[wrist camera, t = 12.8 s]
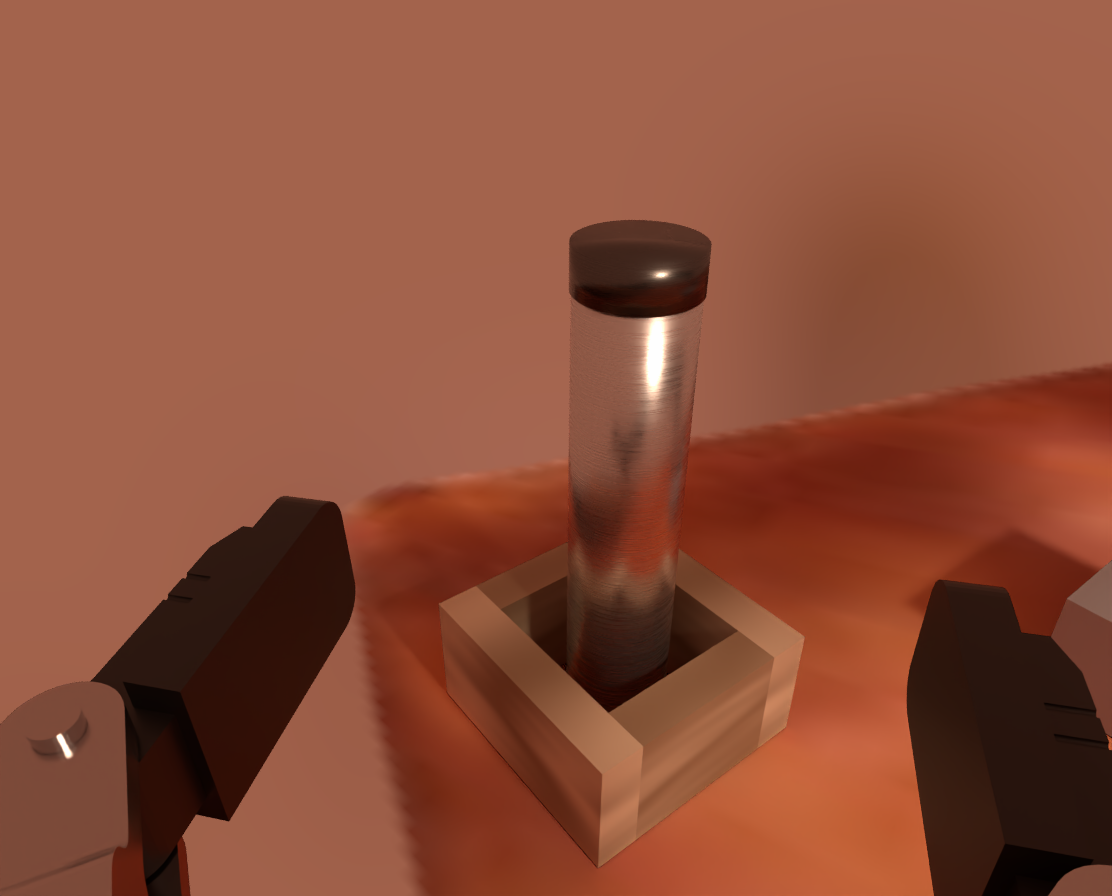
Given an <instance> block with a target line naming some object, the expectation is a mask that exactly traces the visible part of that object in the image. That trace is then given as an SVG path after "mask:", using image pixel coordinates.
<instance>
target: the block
mask: <svg viewBox="0 0 1112 896" xmlns="http://www.w3.org/2000/svg"><path fill="white" fill-rule="evenodd" d="M1051 638H1052V639H1053V640H1054V641H1055V642H1056V643H1057V644H1058V645H1059V647H1060V648H1061V649H1062V650H1063V651H1064V652H1065V653H1066V654H1067V656H1068V657H1069V658H1070V659H1071V660H1072V661H1073V662H1074V663H1075V664H1076V666H1077V667H1078V668H1079V669H1080V670H1081V671H1082V673H1083V675H1084V678H1085V681H1086V683H1087V686H1088V688H1089V691H1090V694H1091V696H1092V699H1093V702H1094V704H1095V707H1096V709H1097V711H1096V717H1097V718H1100V720H1101V722H1102V725H1103V728H1104V730H1105V733H1106V734H1107V735H1109V736H1111V737H1112V560H1111V561H1110V562H1109V563H1108V564H1107V565H1105V566H1104V567H1103V568H1102V569H1101V570H1100V571H1098V572H1097V573H1096V574H1095V575H1094V576H1093V577H1091V578H1090V579H1089V580H1088V581H1087V582H1086V583H1084V584H1083V585H1082V586H1081V587H1080V588H1079V589H1077V590H1076V591H1075V592H1074V593H1073V594H1072V595H1070V596H1069V597H1068V598H1067V599H1066V602H1065V604H1064V607H1063V609H1062V611H1061V614H1060V616H1059V619H1058V621H1057V623H1056V626H1055V628H1054V631H1053V633H1052V635H1051Z"/></svg>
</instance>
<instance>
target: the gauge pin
mask: <svg viewBox="0 0 1112 896" xmlns="http://www.w3.org/2000/svg"><path fill="white" fill-rule="evenodd" d="M569 247H570V248H569V293H570V295H571V329H570V330H571V331H570V332H571V333H570V410H569V411H570V412H569V413H570V414H569V416H570V417H569V490H568V570H567V650H566V673H567V674H568V675H569V676H570V677H571V678H572V679H573V680H574V681H575V682H577V683H578V684H579V685H580V686H581V687H582V688H583V689H584V690H585V691H586V692H587V693H588V694H589V695H590V696H591V697H592V698H593V699H594V700H595V701H596V702H597V703H598V704H599V705H600V706H602V707H603V708H604V709H605V710H606V711H607V712H608V713H609V712H611V711H612V710H614V709H616V708H617V707H619V706H620V705H622V704H623V703H625V702H627V701H628V700H630V699H631V698H633V697H634V696H636V695H638V694H639V693H641V692H642V691H644V690H646V689H647V688H649V687H650V686H652V685H653V684H655V683H657V682H658V681H660V680H661V679H663V678H665V677H666V673H667V663H668V653H669V643H670V633H671V623H672V613H673V603H674V593H675V583H676V573H677V563H678V553H679V543H680V533H681V523H682V513H683V503H684V493H685V483H686V473H687V463H688V453H689V443H690V433H691V423H692V412H693V403H694V393H695V383H696V373H697V363H698V353H699V343H700V333H701V323H702V313H703V302H704V300H705V298H706V294H707V284H708V274H709V264H710V254H711V241H710V240H709V238H708V237H706V236H705V235H704V234H702V233H700V232H698V231H696V230H694V229H691V228H688V227H685V226H681V225H677V224H672V223H666V222H659V221H647V220H646V221H645V220H621V221H610V222H603V223H598V224H594V225H590V226H587V227H584V228H582V229H580V230H578V231H576V232H575V233H573V235H572V236H571V237H570V243H569Z"/></svg>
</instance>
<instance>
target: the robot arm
mask: <svg viewBox="0 0 1112 896" xmlns="http://www.w3.org/2000/svg"><path fill="white" fill-rule="evenodd" d="M354 601H355V581H354V576H353V571H352V565H351V560H350V555H349V550H348V545H347V540H346V535H345V530H344V525H343V520H342V515H341V511H340V509H339V507H338V506H337V504H335V503H334V502H330V501H320V500H313V499H305V498H297V497H289V496H283V497H280V498H279V499H277V500H276V501H275V502H274V503H273V504H272V505H271V507H270V508H269V509H268V510H267V511H266V513H265V514H264V515H263V516H262V517H261V519H260V520H259V521H258V522H257V523H256V524H255V526H254V527H253V528H252V527H244V526H243V527H241V528H240V529H238V530H237V531H235V532H233V533H232V534H230V535H228V536H227V537H225V538H224V539H222V540H220V541H219V542H217V543H216V544H214V545H212V546H211V547H210V548H209V549H208V550H207V551H206V552H205V553H204V554H203V555H202V557H201V558H200V559H199V560H198V561H197V562H196V563H195V564H194V566H193V567H192V568H191V569H190V570H189V571H188V572H187V577H186V579H184V578H183V579H181V580H180V581H179V583H178V584H177V585H176V586H175V587H174V588H173V589H172V591H171V592H170V593H169V594H168V599H167V600H163V601H162V602H161V603H160V604H159V605H158V606H157V607H156V609H155V610H154V611H153V612H152V613H151V614H150V615H149V616H148V617H147V619H146V620H145V621H144V622H143V623H142V624H141V625H140V626H139V628H138V629H137V630H136V631H135V632H134V633H133V634H132V635H131V637H130V638H129V639H128V640H127V641H126V642H125V643H124V645H123V646H122V647H121V648H120V649H119V650H118V651H117V652H116V654H115V655H114V656H113V657H112V658H111V659H110V660H109V661H108V663H107V664H106V665H105V666H104V667H103V668H102V669H101V670H100V672H99V673H98V674H97V675H96V676H95V677H94V678H93V679H92V680H91V681H90V682H76V683H70V684H66V685H62V686H58V687H55V688H53V689H50V690H47V691H45V692H43V693H41V694H39V695H37V696H35V697H33V698H32V699H30V700H28V701H27V702H25V703H24V704H22V705H21V706H20V707H18V708H17V709H16V710H14V711H13V712H12V713H11V714H10V715H9V716H8V717H7V718H6V719H5V720H4V721H3V722H2V723H1V724H0V896H190V886H189V875H188V864H187V854H186V847H185V842H184V840H183V838H182V835H183V834H184V832H185V830H186V829H187V827H188V826H189V824H190V823H191V821H192V820H193V818H194V817H195V815H202V816H206V817H211V818H216V819H220V820H225V821H230V819H231V817H232V816H233V814H234V812H235V811H236V809H237V807H238V806H239V804H240V802H241V801H242V799H243V797H244V796H245V794H246V793H247V791H248V789H249V787H250V786H251V784H252V783H253V781H254V779H255V777H256V776H257V774H258V772H259V771H260V769H261V768H262V766H263V764H264V763H265V761H266V759H267V757H268V756H269V754H270V753H271V751H272V749H273V748H274V746H275V744H276V743H277V741H278V739H279V738H280V736H281V734H282V733H283V731H284V729H285V728H286V726H287V725H288V723H289V721H290V720H291V718H292V716H293V715H294V713H295V711H296V709H297V708H298V706H299V705H300V703H301V701H302V700H303V698H304V696H305V695H306V693H307V691H308V689H309V688H310V686H311V685H312V683H313V681H314V679H315V678H316V676H317V675H318V673H319V671H320V670H321V668H322V667H323V665H324V663H325V662H326V660H327V658H328V657H329V655H330V653H331V651H332V650H333V648H334V646H335V645H336V643H337V642H338V640H339V638H340V637H341V635H342V633H343V632H344V630H345V628H346V626H347V625H348V622H349V620H350V617H351V614H352V611H353V607H354ZM1096 711H1097V709H1096V707H1095V704H1094V702H1093V699H1092V696H1091V694H1090V691H1089V688H1088V686H1087V683H1086V681H1085V678H1084V675H1083V673H1082V671H1081V670H1080V669H1079V668H1078V667H1077V666H1076V664H1075V663H1074V662H1073V661H1072V660H1071V659H1070V658H1069V657H1068V656H1067V654H1066V653H1065V652H1064V651H1063V650H1062V649H1061V648H1060V647H1059V645H1058V644H1057V643H1056V642H1055V641H1054V640H1053V639H1052V638H1051V637H1050V636H1043V635H1036V634H1028V633H1021V630H1020V627H1019V623H1018V620H1017V617H1016V614H1015V611H1014V608H1013V605H1012V601H1011V598H1010V596H1009V593H1008V592H1007V590H1006V589H1005V588H1003V587H996V586H988V585H980V584H972V583H964V582H956V581H948V580H938V581H937V582H936V583H935V585H934V587H933V589H932V593H931V596H930V599H929V603H928V606H927V610H926V613H925V617H924V620H923V623H922V627H921V630H920V634H919V637H918V641H917V644H916V648H915V651H914V655H913V658H912V662H911V665H910V670H909V676H908V684H907V715H908V722H909V729H910V736H911V743H912V749H913V756H914V763H915V770H916V776H917V783H918V790H919V797H920V804H921V810H922V817H923V824H924V831H925V838H926V844H927V851H928V858H929V865H930V871H931V878H932V885H933V892H934V896H1112V750H1109V748H1108V744H1109V741H1108V738H1107V736H1106V733H1105V730H1104V728H1103V725H1102V722H1101V720H1100V718H1097V717H1096Z"/></svg>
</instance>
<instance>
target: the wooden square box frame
mask: <svg viewBox="0 0 1112 896" xmlns="http://www.w3.org/2000/svg"><path fill="white" fill-rule="evenodd" d="M567 570H568V542H566V543H564V544H562V545H560V546H558V547H556V548H554V549H552V550H550V551H547V552H545V553H543V554H541V555H539V556H537V557H535V558H533V559H531V560H529V561H527V562H525V563H522V564H520V565H518V566H516V567H514V568H512V569H510V570H508V571H506V572H504V573H502V574H500V575H497V576H495V577H493V578H491V579H489V580H487V581H485V582H483V583H481V584H479V585H477V586H475V587H472V588H470V589H468V590H466V591H464V592H462V593H460V594H458V595H456V596H454V597H452V598H450V599H447V600H445V601H443V602H441V603H439V613H440V624H441V635H442V645H443V656H444V666H445V677H446V688H447V693H448V694H449V695H450V697H451V698H452V699H453V700H454V701H455V702H456V704H457V705H458V706H459V707H460V708H461V709H462V711H463V712H464V713H465V714H466V715H467V716H468V718H469V719H470V720H471V721H472V722H473V723H474V724H475V726H476V727H477V728H478V729H479V730H480V731H481V733H482V734H483V735H484V736H485V737H486V738H487V740H488V741H489V742H490V743H491V744H492V745H493V747H494V748H495V749H496V750H497V751H498V752H499V754H500V755H501V756H502V757H503V758H504V759H505V761H506V762H507V763H508V764H509V765H510V766H511V768H512V769H513V770H514V771H515V772H516V773H517V774H518V776H519V777H520V778H521V779H522V780H523V781H524V783H525V784H526V785H527V786H528V787H529V788H530V790H531V791H532V792H533V793H534V794H535V795H536V797H537V798H538V799H539V800H540V801H541V802H542V804H543V805H544V806H545V807H546V808H547V809H548V811H549V812H550V813H551V814H552V815H553V816H554V818H555V819H556V820H557V821H558V822H559V823H560V824H561V826H562V827H563V828H564V829H565V830H566V831H567V833H568V834H569V835H570V836H571V837H572V838H573V840H574V841H575V842H576V843H577V844H578V845H579V847H580V848H581V849H582V850H583V851H584V852H585V854H586V855H587V856H588V857H589V858H590V859H591V861H592V862H593V863H594V864H595V865H596V866H597V867H598V868H599V867H600V866H602V865H603V864H604V863H606V862H607V861H608V860H610V859H611V858H612V857H614V856H615V855H616V854H618V853H619V852H620V851H622V850H623V849H624V848H626V847H627V846H628V845H630V844H631V843H632V842H634V841H635V840H636V839H638V838H639V837H640V836H642V835H643V834H644V833H646V832H647V831H648V830H650V829H651V828H652V827H654V826H655V825H656V824H658V823H659V822H660V821H662V820H663V819H664V818H666V817H667V816H668V815H670V814H671V813H672V812H674V811H675V810H676V809H678V808H679V807H680V806H682V805H683V804H684V803H686V802H687V801H688V800H689V799H691V798H692V797H693V796H695V795H696V794H697V793H699V792H700V791H701V790H703V789H704V788H705V787H707V786H708V785H709V784H711V783H712V782H713V781H715V780H716V779H717V778H719V777H720V776H721V775H723V774H724V773H725V772H727V771H728V770H729V769H731V768H732V767H733V766H735V765H736V764H737V763H739V762H740V761H741V760H743V759H744V758H745V757H747V756H748V755H749V754H751V753H752V752H753V751H755V750H756V749H757V748H759V747H760V746H761V745H763V744H764V743H765V742H767V741H768V740H769V739H771V738H772V737H773V736H775V735H776V734H777V733H779V732H780V731H781V730H783V729H784V728H785V727H786V725H787V720H788V715H789V710H790V706H791V701H792V696H793V691H794V687H795V682H796V677H797V672H798V667H799V663H800V658H801V653H802V648H803V644H804V639H805V636H803V635H802V634H800V633H799V632H797V631H796V630H795V629H793V628H792V627H790V626H789V625H787V624H786V623H785V622H783V621H782V620H780V619H779V618H777V617H776V616H775V615H773V614H772V613H770V612H769V611H767V610H766V609H765V608H763V607H762V606H760V605H759V604H757V603H756V602H755V601H753V600H752V599H750V598H749V597H747V596H746V595H745V594H743V593H742V592H740V591H739V590H737V589H736V588H735V587H733V586H732V585H730V584H729V583H727V582H726V581H725V580H723V579H722V578H720V577H719V576H717V575H716V574H715V573H713V572H712V571H710V570H709V569H707V568H706V567H705V566H703V565H702V564H700V563H699V562H697V561H696V560H695V559H693V558H692V557H690V556H689V555H687V554H686V553H685V552H683V551H682V550H680V549H679V553H678V563H677V573H676V583H675V593H674V603H673V613H672V623H671V633H670V643H669V653H668V663H667V672H668V673H669V675H668V676H666V677H665V678H663V679H661V680H660V681H658V682H657V683H655V684H653V685H652V686H650V687H649V688H647V689H646V690H644V691H642V692H641V693H639V694H638V695H636V696H634V697H633V698H631V699H630V700H628V701H627V702H625V703H623V704H622V705H620V706H619V707H617V708H616V709H614V710H612V711H611V712H609V713H608V712H607V711H606V710H605V709H604V708H603V707H602V706H600V705H599V704H598V703H597V702H596V701H595V700H594V699H593V698H592V697H591V696H590V695H589V694H588V693H587V692H586V691H585V690H584V689H583V688H582V687H581V686H580V685H579V684H578V683H577V682H575V681H574V680H573V679H572V678H571V677H570V676H569V675H568V674H567V673H566V672H565V671H564V670H563V669H562V668H561V667H560V666H561V665H563V664H565V663H566V650H567Z"/></svg>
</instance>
